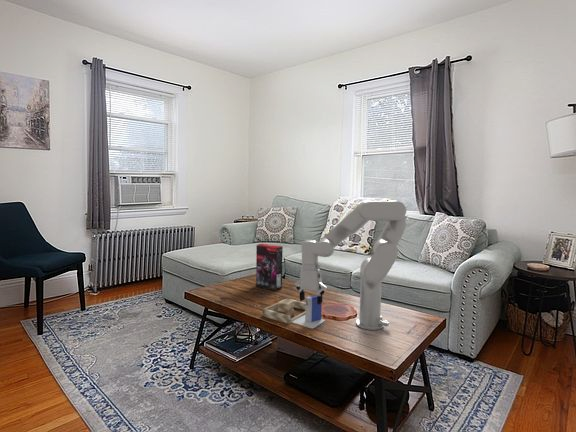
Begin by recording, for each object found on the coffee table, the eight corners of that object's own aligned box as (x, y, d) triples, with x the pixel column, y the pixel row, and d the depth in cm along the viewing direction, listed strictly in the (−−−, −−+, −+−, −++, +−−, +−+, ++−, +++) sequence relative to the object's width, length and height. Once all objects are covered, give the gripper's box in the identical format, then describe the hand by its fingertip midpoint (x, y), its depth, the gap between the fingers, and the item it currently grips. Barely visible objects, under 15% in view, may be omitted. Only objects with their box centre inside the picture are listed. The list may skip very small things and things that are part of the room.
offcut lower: (294, 317, 173) (294, 309, 172) (287, 321, 168) (287, 313, 167) (284, 314, 176) (284, 306, 176) (277, 318, 171) (277, 310, 171)
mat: (325, 320, 168) (325, 320, 168) (312, 328, 158) (312, 328, 158) (304, 315, 175) (304, 314, 175) (291, 322, 165) (291, 321, 165)
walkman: (317, 317, 171) (318, 293, 170) (321, 319, 169) (321, 295, 168) (304, 320, 167) (305, 296, 166) (307, 322, 164) (308, 297, 163)
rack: (312, 311, 181) (312, 304, 181) (289, 323, 164) (289, 316, 164) (287, 304, 190) (287, 298, 190) (262, 316, 173) (262, 309, 173)
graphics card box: (255, 286, 224) (255, 244, 222) (262, 284, 230) (262, 243, 228) (276, 291, 215) (276, 247, 212) (282, 288, 220) (283, 246, 218)
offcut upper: (293, 308, 173) (293, 300, 173) (288, 312, 168) (288, 304, 167) (282, 307, 175) (283, 299, 175) (277, 310, 170) (278, 302, 170)
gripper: (330, 266, 163) (330, 302, 164) (299, 263, 173) (300, 297, 174) (322, 270, 156) (322, 307, 158) (290, 266, 166) (291, 301, 168)
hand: (310, 301), depth 166 cm, fingers open, 9 cm apart
